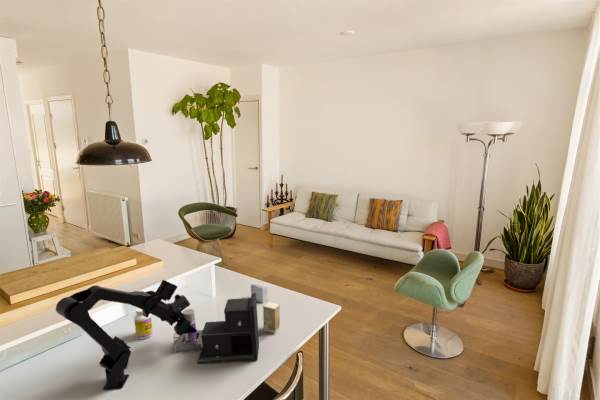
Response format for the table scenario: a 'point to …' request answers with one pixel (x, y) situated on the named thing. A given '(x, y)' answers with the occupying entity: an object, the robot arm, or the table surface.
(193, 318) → the container
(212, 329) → the black drawer cabinet
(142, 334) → the supplement bottle
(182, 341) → the steel collar
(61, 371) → the table surface
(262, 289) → the medicine box
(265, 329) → the skincare box
